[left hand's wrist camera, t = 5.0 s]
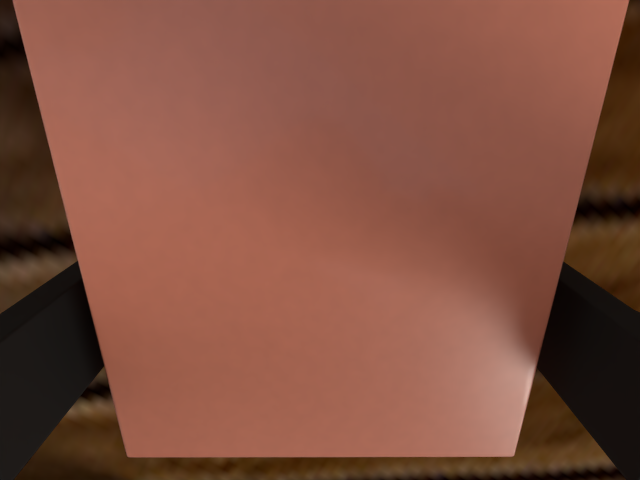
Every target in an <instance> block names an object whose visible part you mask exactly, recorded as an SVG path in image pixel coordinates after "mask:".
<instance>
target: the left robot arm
mask: <svg viewBox="0 0 640 480" xmlns="http://www.w3.org/2000/svg"><path fill="white" fill-rule="evenodd" d="M103 367H104V363H103V359H102V355H101V351H100V347H99V343H98V339H97V335H96V331H95V327H94V323H93V319H92V315H91V311H90V307H89V303H88V299H87V295H86V291H85V287H84V283H83V279H82V275H81V271H80V267H79V263H78V261H77V262H75V263H74V264H73V265H71V266H70V267H68V268H67V269H65V270H64V271H62V272H61V273H59V274H58V275H57V276H55V277H54V278H52V279H51V280H49V281H48V282H46V283H45V284H43V285H42V286H40V287H39V288H38V289H36V290H35V291H33V292H32V293H30V294H29V295H27V296H26V297H24V298H23V299H21V300H20V301H19V302H17V303H16V304H14V305H13V306H11V307H10V308H8V309H7V310H5V311H4V312H2V313H1V314H0V480H14V478H15V477H16V476H17V475H18V473H19V472H20V471H21V470H22V468H23V467H24V466H25V465H26V463H27V462H28V461H29V460H30V458H31V457H32V456H33V455H34V453H35V452H36V451H37V450H38V448H39V447H40V446H41V445H42V443H43V442H44V441H45V440H46V438H47V437H48V436H49V435H50V433H51V432H52V431H53V429H54V428H55V427H56V426H57V424H58V423H59V422H60V421H61V419H62V418H63V417H64V416H65V414H66V413H67V412H68V411H69V409H70V408H71V407H72V406H73V404H74V403H75V402H76V401H77V399H78V398H79V397H80V396H81V394H82V393H83V392H84V391H85V389H86V388H87V387H88V386H89V384H90V383H91V382H92V381H93V379H94V378H95V377H96V376H97V374H98V373H99V372H100V370H101V369H102V368H103ZM537 368H538V369H539V371H540V372H541V373H542V374H543V376H544V377H545V378H546V379H547V381H548V382H549V383H550V384H551V386H552V387H553V388H554V389H555V391H556V392H557V393H558V394H559V396H560V397H561V398H562V399H563V401H564V402H565V403H566V404H567V406H568V407H569V408H570V409H571V411H572V412H573V413H574V414H575V416H576V417H577V418H578V419H579V421H580V422H581V423H582V424H583V426H584V427H585V428H586V429H587V431H588V432H589V433H590V435H591V436H592V437H593V438H594V440H595V441H596V442H597V443H598V445H599V446H600V447H601V448H602V450H603V451H604V452H605V453H606V455H607V456H608V457H609V458H610V460H611V461H612V462H613V463H614V465H615V466H616V467H617V468H618V470H619V471H620V472H621V473H622V475H623V476H624V477H625V478H626V480H640V312H637V311H635V310H633V309H632V308H630V307H629V306H627V305H626V304H624V303H623V302H621V301H620V300H619V299H617V298H616V297H614V296H613V295H611V294H610V293H608V292H607V291H605V290H604V289H602V288H601V287H600V286H598V285H597V284H595V283H594V282H592V281H591V280H589V279H588V278H586V277H585V276H583V275H582V274H581V273H579V272H578V271H576V270H575V269H573V268H572V267H570V266H569V265H567V264H566V263H564V262H563V264H562V268H561V272H560V276H559V280H558V284H557V288H556V292H555V296H554V300H553V304H552V308H551V312H550V316H549V319H548V323H547V327H546V331H545V335H544V339H543V343H542V347H541V351H540V355H539V359H538V363H537Z"/></svg>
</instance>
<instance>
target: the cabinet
mask: <svg viewBox="0 0 640 480" xmlns="http://www.w3.org/2000/svg"><path fill="white" fill-rule="evenodd" d="M628 2H629V0H13V4H14V8H15V12H16V16H17V20H18V24H19V28H20V32H21V36H22V40H23V44H24V48H25V52H26V56H27V60H28V64H29V68H30V72H31V76H32V80H33V84H34V88H35V92H36V96H37V100H38V104H39V108H40V112H41V116H42V120H43V124H44V128H45V132H46V136H47V140H48V144H49V148H50V152H51V156H52V160H53V163H54V167H55V171H56V175H57V179H58V183H59V187H60V191H61V195H62V199H63V203H64V207H65V211H66V215H67V219H68V223H69V227H70V231H71V235H72V239H73V243H74V247H75V251H76V255H77V259H78V263H79V267H80V271H81V275H82V279H83V283H84V287H85V291H86V295H87V299H88V303H89V307H90V311H91V315H92V319H93V323H94V327H95V331H96V335H97V339H98V343H99V347H100V351H101V355H102V359H103V363H104V367H105V371H106V375H107V379H108V383H109V387H110V390H111V394H112V398H113V402H114V406H115V410H116V414H117V418H118V422H119V426H120V430H121V434H122V438H123V442H124V446H125V450H126V454H127V456H128V457H512V456H514V454H515V450H516V446H517V442H518V438H519V434H520V430H521V426H522V423H523V419H524V415H525V411H526V407H527V403H528V399H529V395H530V391H531V387H532V383H533V379H534V375H535V371H536V367H537V363H538V359H539V355H540V351H541V347H542V343H543V339H544V335H545V331H546V327H547V323H548V319H549V316H550V312H551V308H552V304H553V300H554V296H555V292H556V288H557V284H558V280H559V276H560V272H561V268H562V264H563V260H564V256H565V252H566V248H567V244H568V240H569V236H570V232H571V228H572V224H573V220H574V216H575V212H576V208H577V205H578V201H579V197H580V193H581V189H582V185H583V181H584V177H585V173H586V169H587V165H588V161H589V157H590V153H591V149H592V145H593V141H594V137H595V133H596V129H597V125H598V121H599V117H600V113H601V109H602V105H603V101H604V97H605V94H606V90H607V86H608V82H609V78H610V74H611V70H612V66H613V62H614V58H615V54H616V50H617V46H618V42H619V38H620V34H621V30H622V26H623V22H624V18H625V14H626V10H627V6H628Z"/></svg>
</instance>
